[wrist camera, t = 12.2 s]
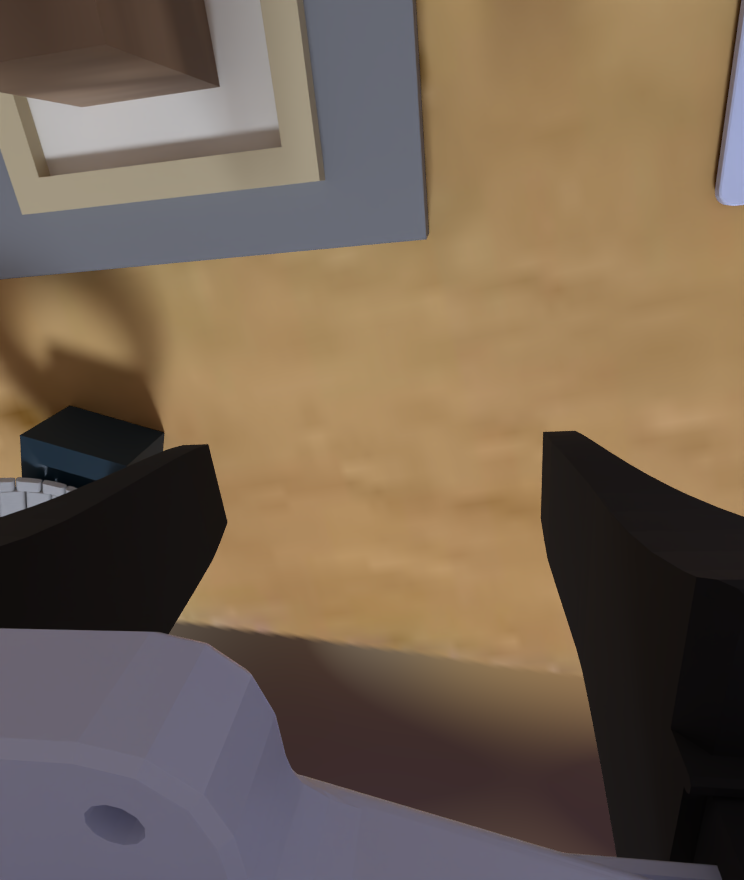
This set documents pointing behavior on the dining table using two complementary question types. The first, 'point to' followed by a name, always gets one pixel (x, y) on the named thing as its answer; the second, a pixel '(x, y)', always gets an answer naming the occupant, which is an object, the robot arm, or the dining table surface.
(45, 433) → the watch
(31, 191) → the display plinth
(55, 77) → the walnut block
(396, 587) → the dining table surface
